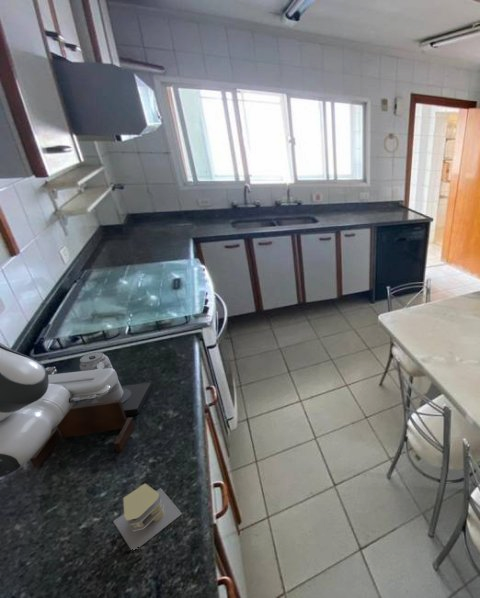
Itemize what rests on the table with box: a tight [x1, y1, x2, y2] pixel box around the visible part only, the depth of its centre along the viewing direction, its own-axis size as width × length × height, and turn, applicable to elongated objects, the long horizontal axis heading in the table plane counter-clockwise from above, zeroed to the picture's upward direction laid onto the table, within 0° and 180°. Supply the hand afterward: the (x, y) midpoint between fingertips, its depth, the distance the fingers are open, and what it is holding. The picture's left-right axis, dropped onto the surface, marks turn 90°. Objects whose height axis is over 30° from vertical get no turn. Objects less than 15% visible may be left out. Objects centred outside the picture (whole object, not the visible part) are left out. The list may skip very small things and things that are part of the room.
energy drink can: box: [79, 351, 123, 403], centre depth 92 cm, size 6×6×15 cm
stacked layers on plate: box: [112, 483, 183, 551], centre depth 68 cm, size 10×9×6 cm
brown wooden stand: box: [29, 400, 136, 468], centre depth 82 cm, size 17×10×9 cm, turn 109°
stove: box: [75, 381, 153, 417], centre depth 96 cm, size 16×12×4 cm
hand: (77, 366), depth 82 cm, fingers open, 8 cm apart
